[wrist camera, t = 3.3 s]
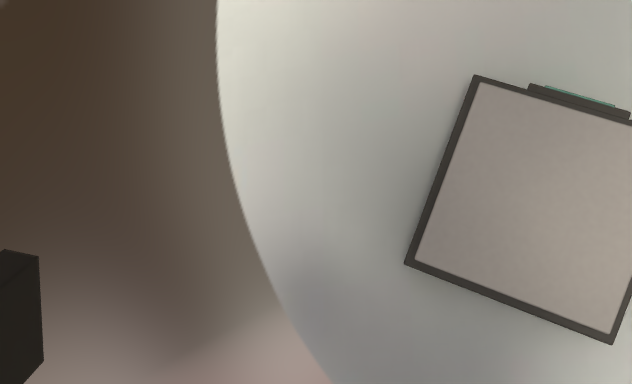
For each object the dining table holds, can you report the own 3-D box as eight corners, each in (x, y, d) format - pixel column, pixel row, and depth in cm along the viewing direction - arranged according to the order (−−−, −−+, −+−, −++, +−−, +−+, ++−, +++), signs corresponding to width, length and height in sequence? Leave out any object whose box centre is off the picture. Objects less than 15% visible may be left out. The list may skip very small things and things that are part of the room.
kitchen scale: (476, 74, 34) (478, 58, 31) (678, 133, 31) (702, 122, 28) (407, 262, 34) (401, 264, 31) (601, 338, 31) (616, 349, 28)
